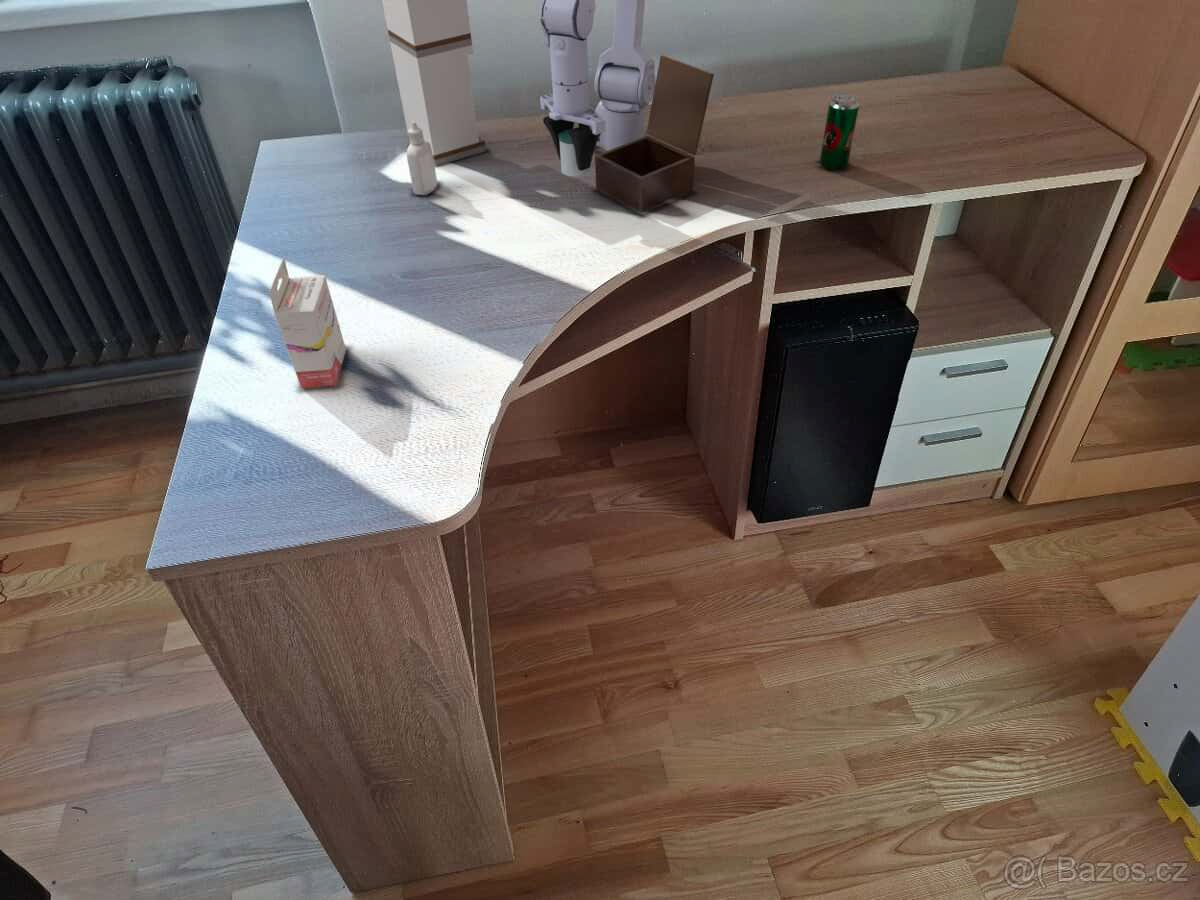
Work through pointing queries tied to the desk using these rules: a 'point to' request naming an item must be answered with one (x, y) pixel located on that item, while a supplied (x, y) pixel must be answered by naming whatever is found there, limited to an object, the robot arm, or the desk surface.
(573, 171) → the container
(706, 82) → the box lid
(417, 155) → the eye dropper bottle
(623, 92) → the robot arm
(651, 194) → the box
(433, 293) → the desk surface
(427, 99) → the brown banded pillar
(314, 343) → the ink cartridge box
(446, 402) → the desk surface
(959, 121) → the desk surface
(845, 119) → the soda can
